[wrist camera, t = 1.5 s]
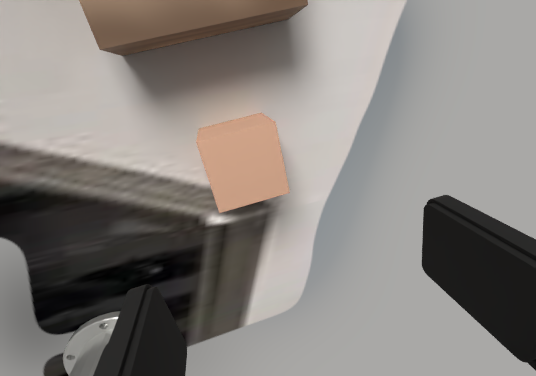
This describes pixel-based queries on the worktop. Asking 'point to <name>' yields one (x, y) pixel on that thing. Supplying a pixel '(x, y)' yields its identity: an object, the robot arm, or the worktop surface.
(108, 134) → the worktop surface
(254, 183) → the peach cube
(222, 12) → the walnut stand
